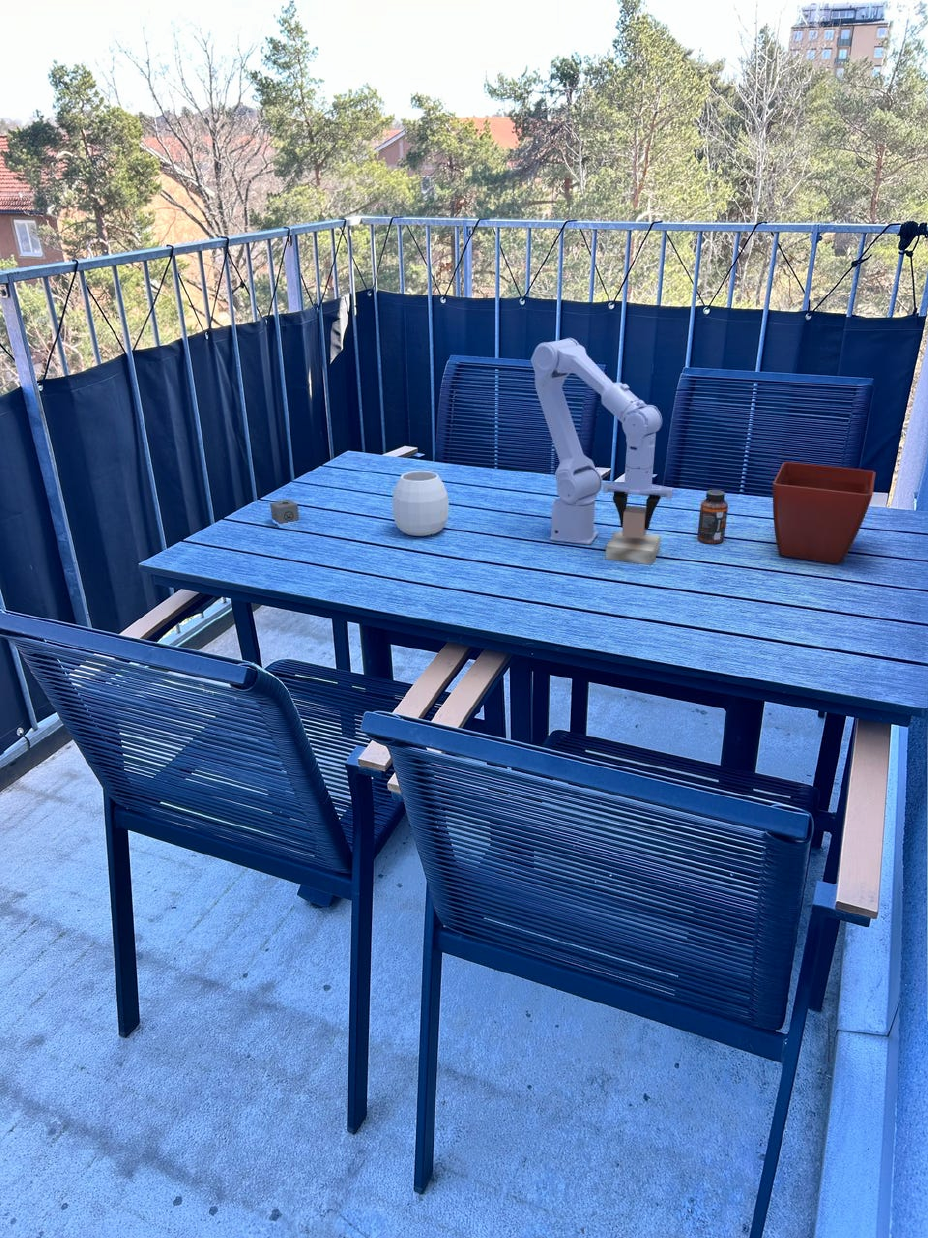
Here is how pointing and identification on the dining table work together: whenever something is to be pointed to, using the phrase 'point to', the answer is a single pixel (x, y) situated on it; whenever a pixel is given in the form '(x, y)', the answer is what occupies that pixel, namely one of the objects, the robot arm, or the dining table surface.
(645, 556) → the birch base
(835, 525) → the plant pot
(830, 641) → the dining table surface
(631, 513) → the terracotta block
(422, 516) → the white vase
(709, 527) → the supplement bottle
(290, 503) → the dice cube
